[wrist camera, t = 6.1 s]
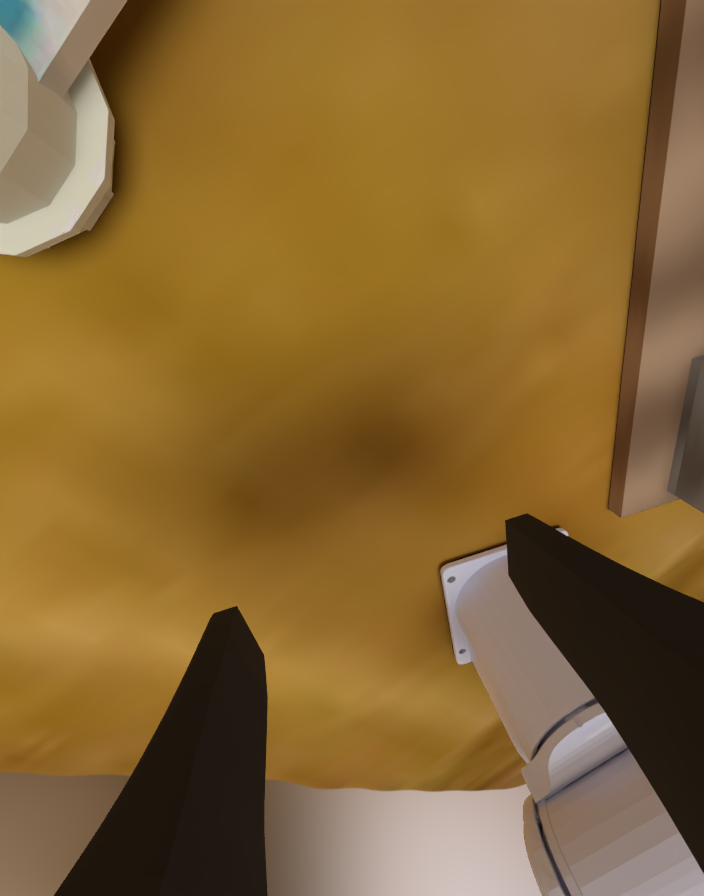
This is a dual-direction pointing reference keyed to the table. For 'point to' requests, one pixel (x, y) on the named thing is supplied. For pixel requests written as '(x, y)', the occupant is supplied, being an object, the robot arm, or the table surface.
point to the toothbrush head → (52, 122)
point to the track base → (667, 287)
